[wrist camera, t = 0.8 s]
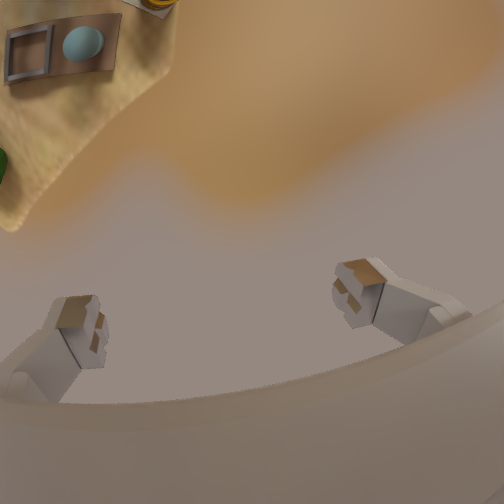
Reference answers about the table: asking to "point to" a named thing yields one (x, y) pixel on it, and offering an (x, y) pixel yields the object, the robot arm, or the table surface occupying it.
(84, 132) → the table surface
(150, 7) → the condiment
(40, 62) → the base
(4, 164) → the bell pepper
